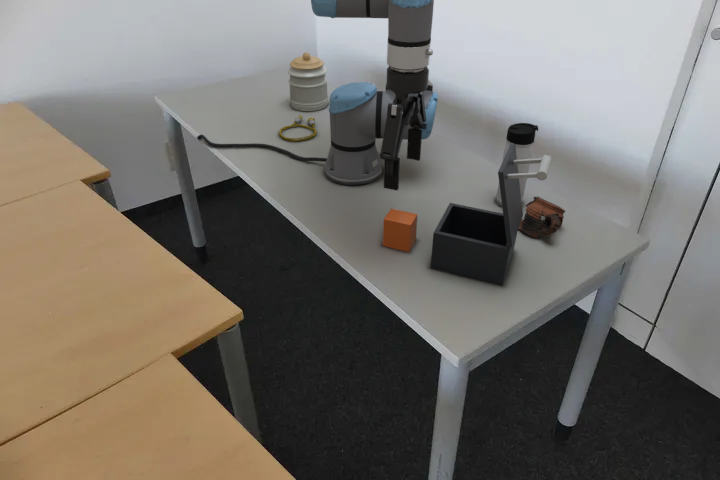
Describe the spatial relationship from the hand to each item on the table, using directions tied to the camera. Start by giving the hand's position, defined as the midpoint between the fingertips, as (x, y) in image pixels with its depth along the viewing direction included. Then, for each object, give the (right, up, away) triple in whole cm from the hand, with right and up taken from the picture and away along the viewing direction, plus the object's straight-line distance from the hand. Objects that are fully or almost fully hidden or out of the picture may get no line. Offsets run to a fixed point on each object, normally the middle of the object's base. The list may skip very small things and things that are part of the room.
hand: (402, 173), depth 109 cm
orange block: (0, -14, +10) cm, 18 cm away
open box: (+15, -18, +5) cm, 24 cm away
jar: (-26, +33, +77) cm, 88 cm away
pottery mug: (+32, -11, +14) cm, 37 cm away
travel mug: (+28, -4, +24) cm, 37 cm away
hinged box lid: (+20, -5, -6) cm, 21 cm away
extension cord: (-27, +20, +59) cm, 68 cm away
